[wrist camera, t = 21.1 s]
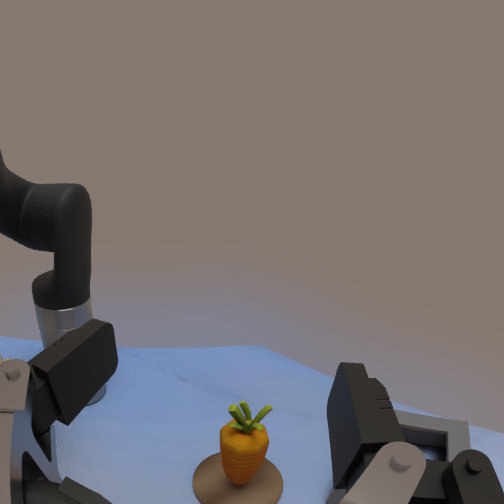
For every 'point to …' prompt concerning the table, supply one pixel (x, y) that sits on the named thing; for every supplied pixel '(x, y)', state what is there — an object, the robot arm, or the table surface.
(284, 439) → the table surface
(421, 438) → the box
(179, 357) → the table surface
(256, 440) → the carrot
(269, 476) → the walnut pad
